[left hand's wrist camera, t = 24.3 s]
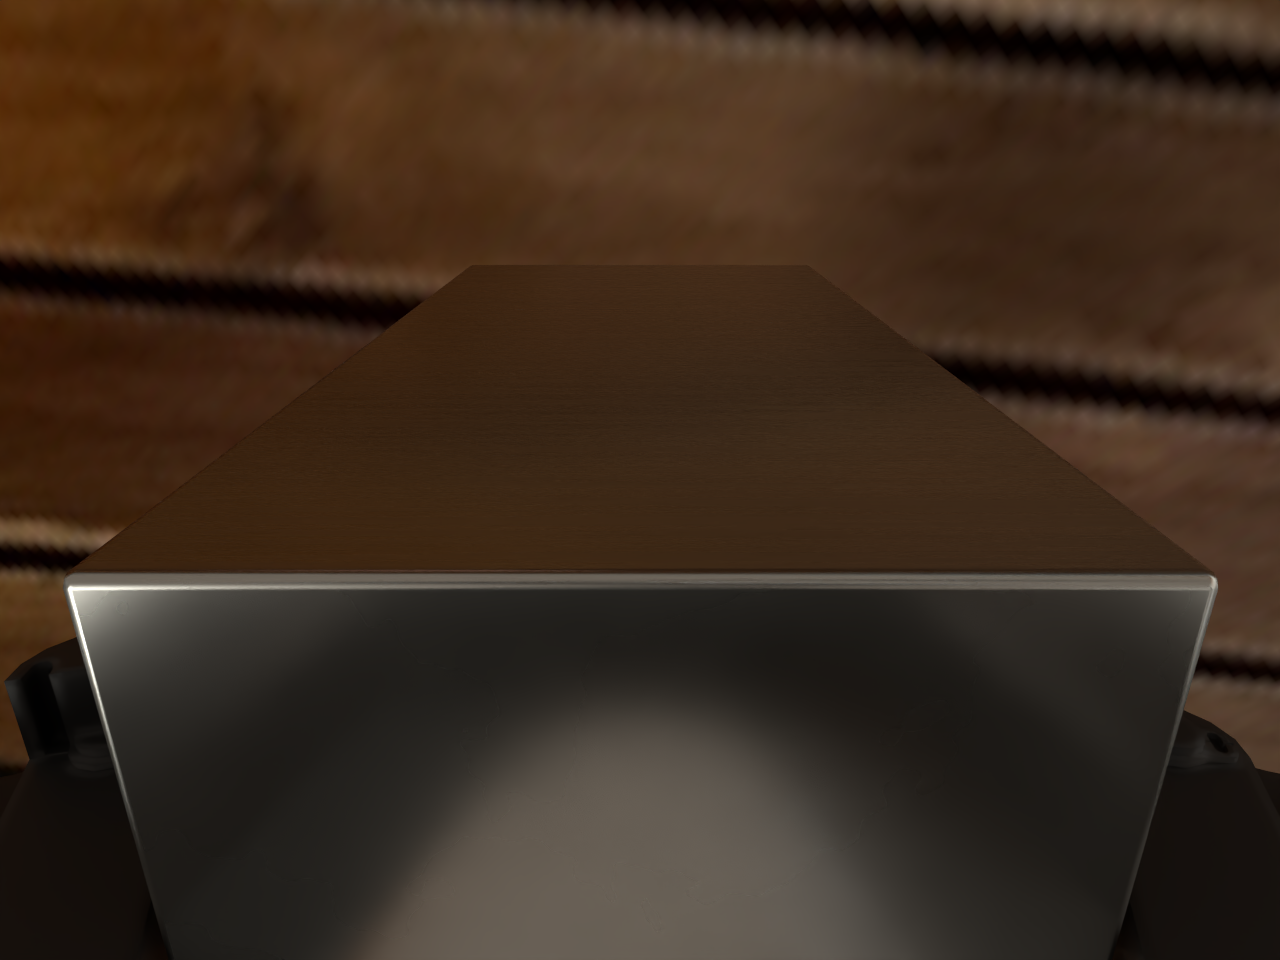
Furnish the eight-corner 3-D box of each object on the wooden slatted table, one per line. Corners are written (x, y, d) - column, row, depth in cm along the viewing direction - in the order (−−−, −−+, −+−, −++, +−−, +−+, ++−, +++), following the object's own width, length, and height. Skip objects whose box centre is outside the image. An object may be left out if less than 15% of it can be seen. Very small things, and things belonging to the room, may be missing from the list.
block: (810, 264, 15) (1228, 575, 4) (783, 630, 18) (1000, 1369, 7) (468, 264, 15) (51, 574, 4) (495, 630, 18) (279, 1369, 7)
